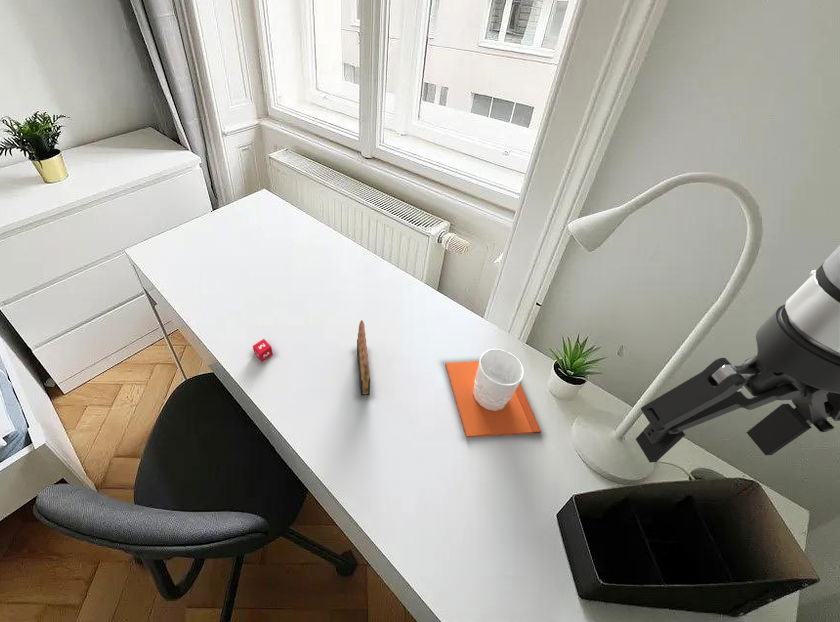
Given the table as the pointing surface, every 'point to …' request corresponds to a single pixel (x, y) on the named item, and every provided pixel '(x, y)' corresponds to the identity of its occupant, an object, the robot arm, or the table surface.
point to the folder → (478, 418)
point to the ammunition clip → (363, 361)
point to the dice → (262, 350)
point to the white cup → (497, 379)
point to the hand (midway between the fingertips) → (702, 447)
